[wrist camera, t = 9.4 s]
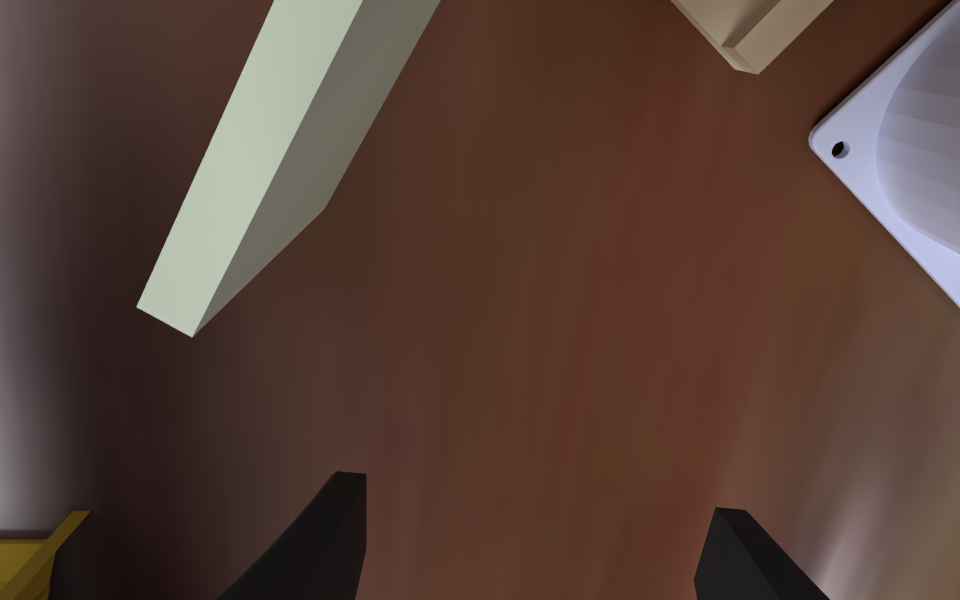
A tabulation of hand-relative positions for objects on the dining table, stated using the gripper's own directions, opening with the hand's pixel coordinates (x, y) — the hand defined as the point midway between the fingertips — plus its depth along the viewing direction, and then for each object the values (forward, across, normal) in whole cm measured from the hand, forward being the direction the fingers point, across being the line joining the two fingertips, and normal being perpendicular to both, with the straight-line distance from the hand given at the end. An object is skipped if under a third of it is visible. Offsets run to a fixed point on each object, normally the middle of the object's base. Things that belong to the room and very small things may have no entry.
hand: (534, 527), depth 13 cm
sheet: (+10, +6, -7) cm, 14 cm away
